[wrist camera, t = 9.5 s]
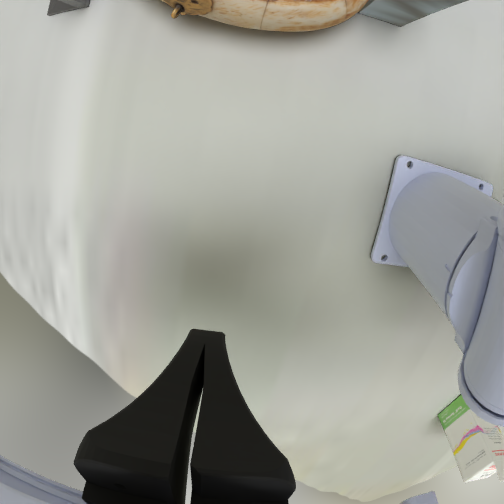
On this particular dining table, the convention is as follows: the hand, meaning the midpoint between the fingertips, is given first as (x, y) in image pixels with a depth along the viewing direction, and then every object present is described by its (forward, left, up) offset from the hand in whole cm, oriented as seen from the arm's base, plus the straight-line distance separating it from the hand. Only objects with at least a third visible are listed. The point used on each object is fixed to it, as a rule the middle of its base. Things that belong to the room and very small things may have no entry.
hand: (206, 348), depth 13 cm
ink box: (-34, +21, -11) cm, 42 cm away
